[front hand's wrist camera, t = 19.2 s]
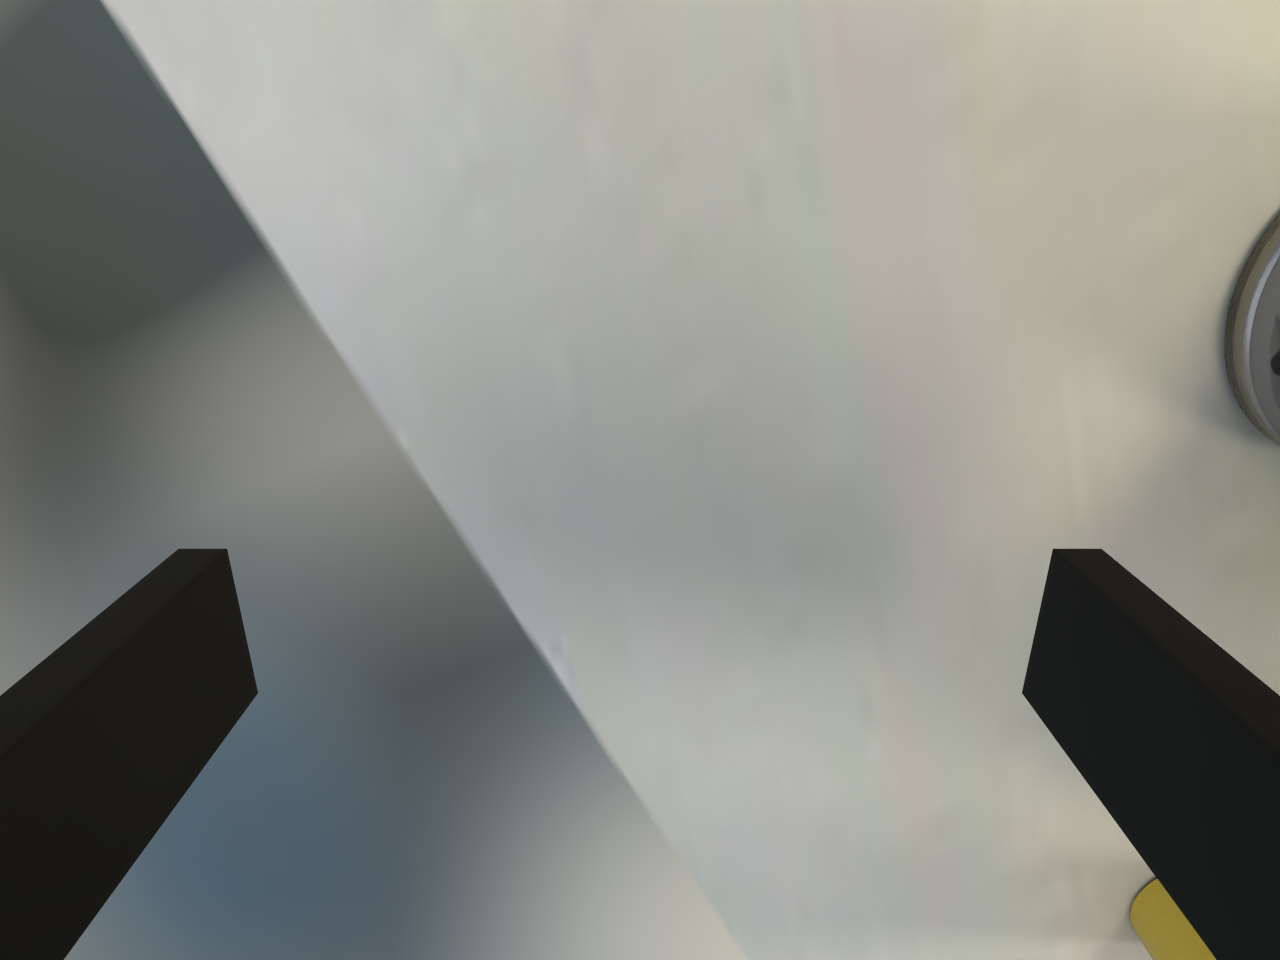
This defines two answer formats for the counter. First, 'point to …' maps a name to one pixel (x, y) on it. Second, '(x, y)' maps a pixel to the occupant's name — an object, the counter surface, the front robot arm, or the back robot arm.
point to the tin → (1165, 927)
